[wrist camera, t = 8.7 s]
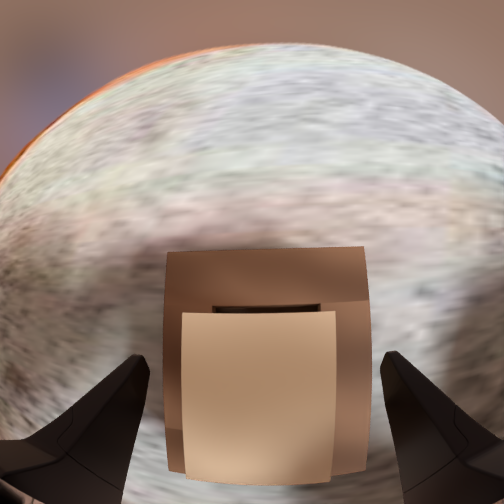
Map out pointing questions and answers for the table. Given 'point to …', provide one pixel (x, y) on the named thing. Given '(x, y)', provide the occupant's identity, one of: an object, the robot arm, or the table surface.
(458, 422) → the robot arm
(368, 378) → the wooden block with hole
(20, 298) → the table surface
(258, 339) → the light wooden peg
